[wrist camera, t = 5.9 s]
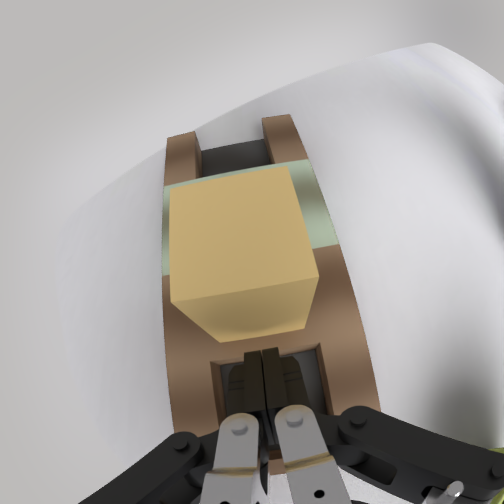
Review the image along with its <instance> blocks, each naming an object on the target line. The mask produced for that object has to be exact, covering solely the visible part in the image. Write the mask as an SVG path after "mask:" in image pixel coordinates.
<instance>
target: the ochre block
mask: <svg viewBox="0 0 504 504" xmlns="http://www.w3.org/2000/svg"><path fill="white" fill-rule="evenodd" d="M169 267H170V298H171V303H172V304H173V305H174V306H176V307H177V308H178V309H179V310H180V311H182V312H183V313H184V314H185V315H186V316H187V317H189V318H190V319H191V320H192V321H193V322H195V323H196V324H197V325H198V326H200V327H201V328H202V329H203V330H205V331H206V332H207V333H208V334H210V335H211V336H212V337H213V338H215V339H216V340H217V341H218V342H220V343H222V342H229V341H236V340H243V339H249V338H255V337H261V336H267V335H272V334H278V333H283V332H289V331H294V330H299V329H304V328H305V324H306V321H307V318H308V314H309V311H310V308H311V304H312V301H313V297H314V294H315V290H316V287H317V283H318V279H319V273H318V269H317V266H316V262H315V258H314V254H313V251H312V247H311V243H310V240H309V236H308V233H307V229H306V226H305V222H304V219H303V215H302V212H301V209H300V205H299V202H298V199H297V195H296V192H295V189H294V186H293V182H292V179H291V176H290V173H289V170H288V167H287V166H283V167H276V168H270V169H264V170H259V171H253V172H247V173H242V174H237V175H231V176H226V177H221V178H216V179H211V180H207V181H202V182H197V183H193V184H188V185H184V186H180V187H175V188H171V189H170V208H169Z"/></svg>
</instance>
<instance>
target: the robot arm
mask: <svg viewBox="0 0 504 504" xmlns="http://www.w3.org/2000/svg"><path fill="white" fill-rule="evenodd" d="M273 433H274V434H273ZM274 437H275V441H276V444H280V448H281V452H282V457H283V461H284V465H285V470H286V474H287V478H288V482H289V487H290V491H291V495H292V499H293V503H294V504H368V503H365V502H361V501H355V500H350V498H349V495H348V492H347V490H346V487H345V485H344V482H343V479H342V477H341V474H340V472H339V469H338V466H339V467H340V468H341V469H343V470H344V471H346V472H348V473H350V474H352V475H354V476H356V477H357V478H359V479H361V480H363V481H365V482H367V483H369V484H371V485H373V486H375V487H377V488H380V489H382V490H384V491H386V492H388V493H390V494H392V495H395V496H397V497H399V498H402V499H404V500H406V501H409V502H411V503H414V504H490V503H491V501H492V499H493V498H494V497H495V496H496V495H497V494H498V493H499V492H500V491H501V490H502V489H503V488H504V454H503V453H499V452H495V451H492V450H488V449H484V448H481V447H477V446H474V445H470V444H467V443H464V442H461V441H457V440H454V439H451V438H448V437H445V436H442V435H439V434H436V433H434V432H431V431H428V430H425V429H422V428H420V427H417V426H414V425H412V424H409V423H407V422H404V421H401V420H399V419H396V418H394V417H391V416H389V415H386V414H384V413H382V412H379V411H377V410H375V409H372V408H370V407H367V406H353V407H350V408H348V409H346V410H345V411H343V412H342V413H341V415H324V414H321V413H318V412H316V411H315V410H314V409H313V408H312V407H311V405H310V403H309V399H308V395H307V391H306V387H305V383H304V380H303V376H302V372H301V368H300V365H299V362H298V361H297V360H296V359H295V358H294V357H293V356H287V357H282V358H280V355H279V349H278V347H274V348H268V349H262V354H261V350H257V351H251V352H244V364H240V365H234V366H233V368H232V369H231V371H230V372H229V378H228V396H227V416H226V419H225V420H224V421H223V422H222V423H221V425H220V428H219V429H218V430H216V431H214V432H212V433H210V434H207V435H204V436H200V437H197V436H196V435H195V434H193V433H191V432H187V431H182V432H177V433H174V434H172V435H171V436H169V437H168V438H167V439H165V440H164V441H163V442H162V443H161V444H159V445H158V446H157V447H156V448H154V449H153V450H152V451H151V452H149V453H148V454H147V455H145V456H144V457H143V458H142V459H140V460H139V461H138V462H136V463H135V464H134V465H132V466H131V467H130V468H128V469H127V470H126V471H125V472H123V473H122V474H120V475H119V476H118V477H116V478H115V479H113V480H112V481H111V482H110V483H108V484H107V485H105V486H104V487H102V488H101V489H99V490H98V491H96V492H95V493H93V494H92V495H90V496H89V497H87V498H86V499H84V500H83V501H81V502H80V503H78V504H199V503H200V504H270V459H269V457H270V453H269V445H274V444H275V443H274ZM337 465H338V466H337Z"/></svg>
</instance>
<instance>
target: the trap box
mask: <svg viewBox="0 0 504 504" xmlns="http://www.w3.org/2000/svg"><path fill="white" fill-rule="evenodd" d="M262 125H263V134H264V139H261V140H255V141H250V142H244V143H238V144H233V145H228V146H223V147H218V148H213V149H208V150H204V151H201V149H200V146H199V143H198V140H197V137H196V134H195V131H193V132H189V133H185V134H181V135H177V136H173V137H169V138H167V148H166V160H165V174H164V191H163V215H162V299H163V322H164V339H165V353H166V366H167V376H168V386H169V395H170V404H171V412H172V419H173V427H174V433H177V432H182V431H187V432H191V433H193V434H195V435H196V436H197V437H200V436H204V435H207V434H210V433H212V432H214V431H216V430H218V429H219V428H220V425H221V423H222V422H223V421H224V420H225V419H226V416H227V396H228V378H229V372H230V371H231V369H232V368H233V366H234V365H240V364H244V352H251V351H257V350H261V354H262V349H268V348H274V347H278V349H279V355H280V358H282V357H287V356H293V357H294V358H295V359H296V360H297V361H298V362H299V365H300V368H301V372H302V376H303V380H304V383H305V387H306V391H307V395H308V399H309V403H310V405H311V407H312V408H313V409H314V410H315V411H316V412H318V413H321V414H324V415H341V413H342V412H343V411H345V410H346V409H348V408H350V407H353V406H367V407H370V408H372V409H375V410H377V411H379V412H381V408H380V403H379V397H378V392H377V387H376V382H375V377H374V372H373V368H372V363H371V358H370V354H369V350H368V345H367V341H366V337H365V333H364V329H363V325H362V321H361V317H360V313H359V309H358V306H357V302H356V298H355V295H354V291H353V288H352V284H351V281H350V277H349V274H348V270H347V267H346V264H345V261H344V257H343V254H342V251H341V248H340V245H339V242H338V239H337V235H336V232H335V229H334V226H333V224H332V221H331V218H330V215H329V212H328V209H327V206H326V203H325V201H324V198H323V195H322V192H321V190H320V187H319V184H318V182H317V179H316V176H315V174H314V171H313V169H312V166H311V163H310V161H309V158H308V156H307V153H306V151H305V149H304V146H303V144H302V141H301V139H300V136H299V134H298V132H297V129H296V127H295V125H294V122H293V120H292V118H291V116H290V114H288V115H280V116H273V117H266V118H262ZM266 149H267V150H266ZM268 156H269V157H268ZM270 163H271V164H270ZM283 166H287V167H288V170H289V173H290V176H291V179H292V182H293V186H294V189H295V192H296V195H297V199H298V202H299V205H300V209H301V212H302V215H303V219H304V222H305V226H306V229H307V233H308V236H309V240H310V243H311V247H312V251H313V254H314V258H315V262H316V266H317V269H318V273H319V279H318V283H317V287H316V290H315V294H314V297H313V301H312V304H311V308H310V311H309V314H308V318H307V321H306V324H305V328H304V329H299V330H294V331H289V332H283V333H278V334H272V335H267V336H261V337H255V338H249V339H243V340H236V341H229V342H222V343H220V342H218V341H217V340H216V339H215V338H213V337H212V336H211V335H210V334H208V333H207V332H206V331H205V330H203V329H202V328H201V327H200V326H198V325H197V324H196V323H195V322H193V321H192V320H191V319H190V318H189V317H187V316H186V315H185V314H184V313H183V312H182V311H180V310H179V309H178V308H177V307H176V306H174V305H173V304H172V303H171V298H170V267H169V208H170V189H171V188H175V187H180V186H184V185H188V184H193V183H197V182H202V181H207V180H211V179H216V178H221V177H226V176H231V175H237V174H242V173H247V172H253V171H259V170H264V169H270V168H276V167H283ZM314 349H315V350H314ZM310 350H311V351H310ZM305 351H306V352H305ZM300 352H301V353H300ZM315 352H316V353H315ZM295 353H296V354H295ZM290 354H291V355H290ZM284 355H285V356H284ZM316 357H317V358H316ZM242 362H243V363H242ZM317 362H318V363H317ZM235 363H236V364H235ZM227 364H229V365H227ZM220 365H221V366H220ZM318 367H319V368H318ZM319 373H320V374H319ZM320 378H321V379H320ZM321 383H322V384H321ZM322 388H323V389H322ZM323 394H324V395H323ZM324 399H325V400H324ZM325 405H326V406H325ZM326 411H327V412H326ZM273 434H274V433H273ZM274 443H275V444H274V445H269V453H270V457H269V459H270V475H277V474H284V473H286V470H285V465H284V461H283V457H282V452H281V448H280V444H276V441H275V437H274Z"/></svg>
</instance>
